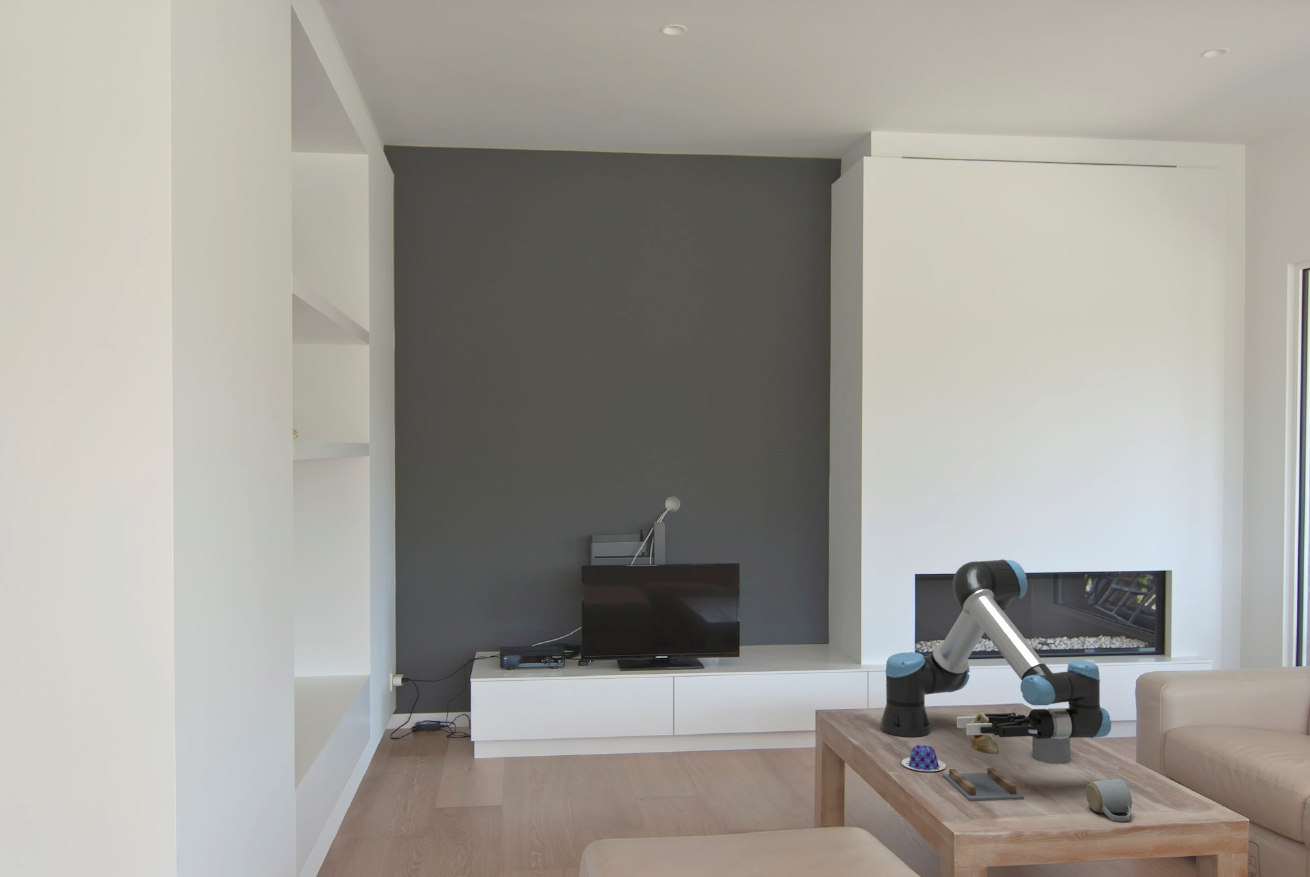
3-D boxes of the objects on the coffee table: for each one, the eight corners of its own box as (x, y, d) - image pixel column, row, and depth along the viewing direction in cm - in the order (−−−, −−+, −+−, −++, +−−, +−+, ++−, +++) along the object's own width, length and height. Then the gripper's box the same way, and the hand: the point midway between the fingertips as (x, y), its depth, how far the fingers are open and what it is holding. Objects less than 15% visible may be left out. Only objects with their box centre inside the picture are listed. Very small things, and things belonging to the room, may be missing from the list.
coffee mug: (1051, 765, 263) (1051, 729, 263) (1024, 755, 272) (1024, 720, 273) (1087, 759, 269) (1087, 723, 269) (1059, 749, 278) (1059, 714, 278)
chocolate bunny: (986, 745, 250) (986, 706, 250) (1001, 753, 242) (1000, 714, 242) (966, 745, 249) (966, 707, 249) (980, 754, 241) (979, 715, 241)
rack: (949, 776, 253) (949, 768, 253) (992, 775, 254) (992, 767, 254) (970, 795, 239) (970, 787, 239) (1016, 794, 240) (1016, 786, 240)
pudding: (894, 760, 269) (894, 742, 269) (934, 758, 271) (934, 740, 271) (911, 775, 257) (911, 755, 257) (953, 772, 259) (953, 753, 259)
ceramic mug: (1083, 806, 233) (1083, 775, 233) (1115, 805, 234) (1115, 774, 234) (1107, 824, 223) (1107, 791, 223) (1140, 822, 223) (1140, 790, 223)
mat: (942, 776, 255) (942, 774, 255) (993, 774, 256) (993, 772, 256) (969, 800, 237) (969, 798, 237) (1023, 799, 238) (1023, 796, 238)
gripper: (1066, 749, 238) (976, 751, 237) (1032, 727, 257) (948, 730, 255) (1066, 719, 239) (976, 721, 237) (1031, 700, 257) (948, 702, 256)
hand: (962, 726), depth 246 cm, fingers closed on chocolate bunny, 6 cm apart
